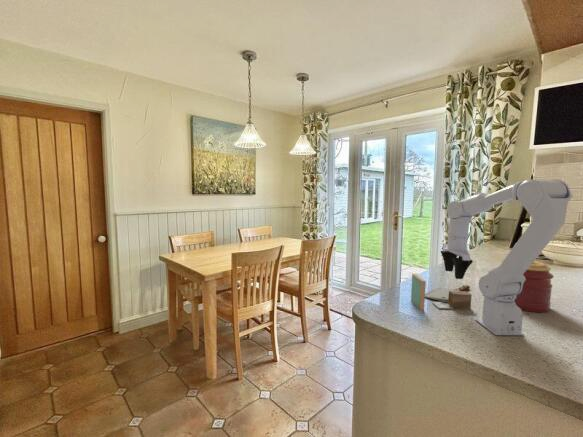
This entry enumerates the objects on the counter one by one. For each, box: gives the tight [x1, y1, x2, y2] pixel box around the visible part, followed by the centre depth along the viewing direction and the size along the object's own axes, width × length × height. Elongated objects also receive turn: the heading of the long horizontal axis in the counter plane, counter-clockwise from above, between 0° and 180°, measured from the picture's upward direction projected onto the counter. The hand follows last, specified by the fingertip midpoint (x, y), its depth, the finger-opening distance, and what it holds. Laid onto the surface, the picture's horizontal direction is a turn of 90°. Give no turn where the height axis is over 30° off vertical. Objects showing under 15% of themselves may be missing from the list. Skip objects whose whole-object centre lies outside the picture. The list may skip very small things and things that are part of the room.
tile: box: [410, 273, 427, 311], centre depth 99 cm, size 8×1×10 cm, turn 179°
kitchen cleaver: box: [425, 284, 471, 303], centre depth 111 cm, size 24×1×10 cm
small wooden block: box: [431, 290, 472, 311], centre depth 99 cm, size 5×11×5 cm, turn 88°
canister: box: [515, 260, 554, 313], centre depth 100 cm, size 13×13×18 cm
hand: (453, 274), depth 100 cm, fingers open, 7 cm apart
